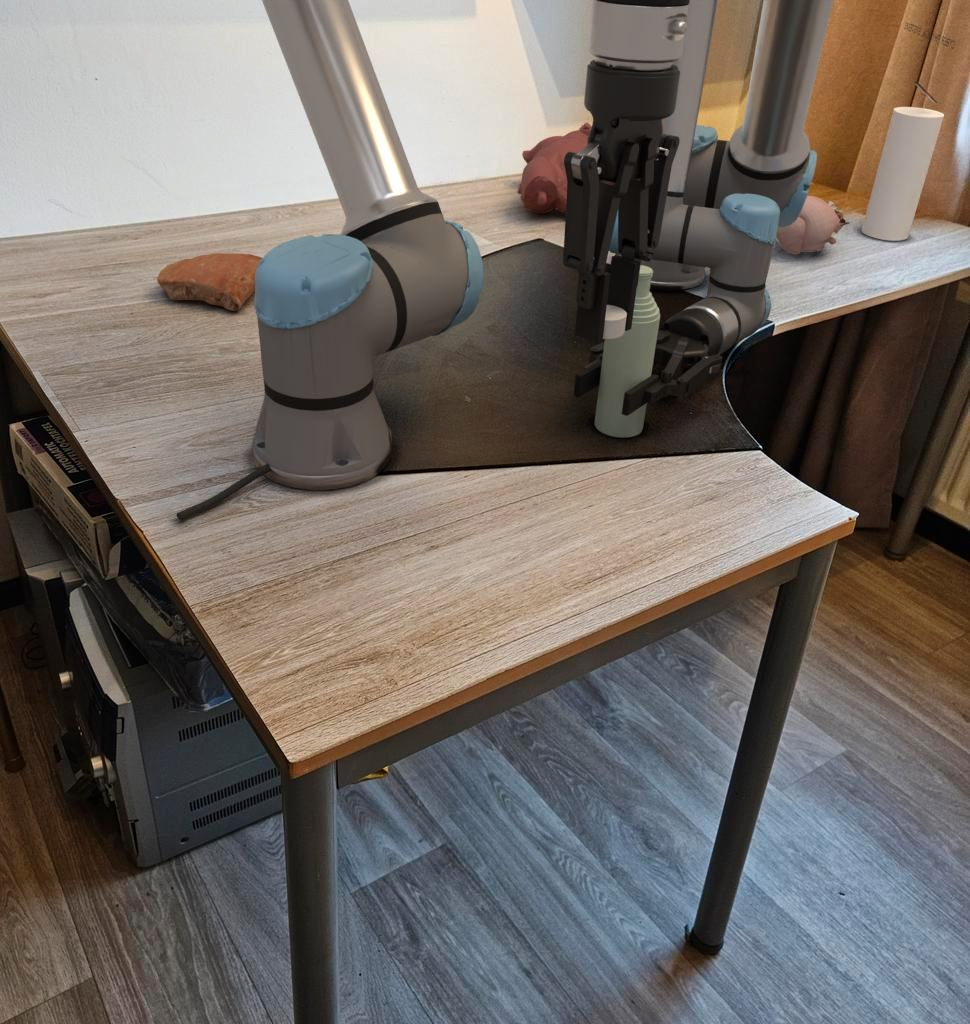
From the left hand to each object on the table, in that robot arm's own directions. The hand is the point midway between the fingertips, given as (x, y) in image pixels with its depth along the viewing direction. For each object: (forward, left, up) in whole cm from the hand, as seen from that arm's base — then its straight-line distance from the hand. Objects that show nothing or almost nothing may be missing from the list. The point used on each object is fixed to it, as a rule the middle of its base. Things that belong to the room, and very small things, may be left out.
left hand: (603, 331), depth 91 cm
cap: (0, 0, +2) cm, 2 cm away
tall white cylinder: (+115, -30, -20) cm, 120 cm away
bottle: (+19, 0, -20) cm, 27 cm away
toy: (+97, -16, -20) cm, 100 cm away
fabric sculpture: (+105, +28, -20) cm, 111 cm away
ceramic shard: (+36, +67, -20) cm, 78 cm away
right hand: (+14, +2, -14) cm, 20 cm away
